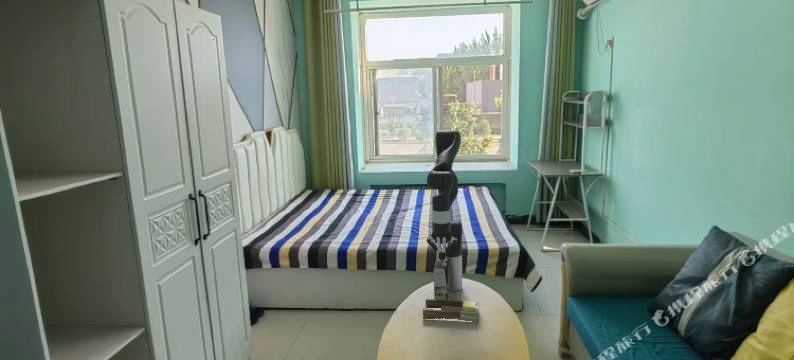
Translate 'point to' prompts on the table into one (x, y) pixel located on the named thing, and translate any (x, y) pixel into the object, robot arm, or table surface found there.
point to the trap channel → (449, 310)
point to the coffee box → (441, 280)
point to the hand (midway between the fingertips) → (442, 260)
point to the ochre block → (469, 306)
